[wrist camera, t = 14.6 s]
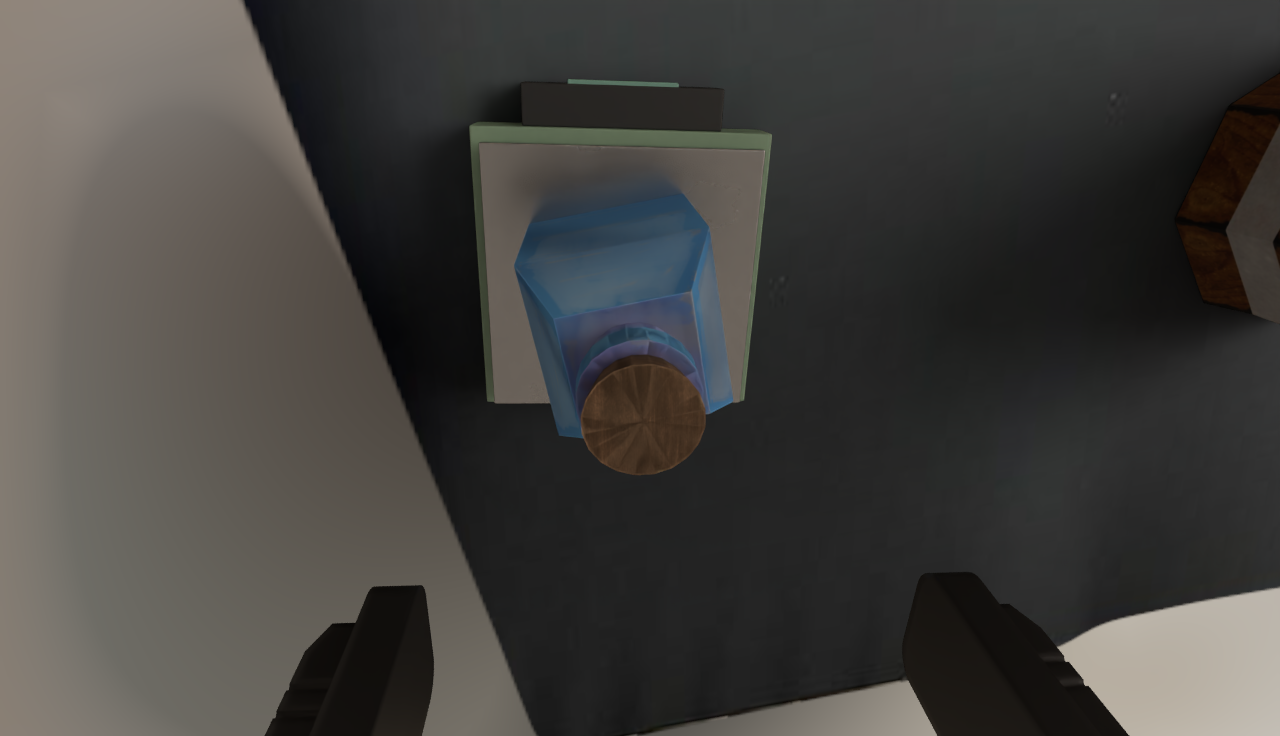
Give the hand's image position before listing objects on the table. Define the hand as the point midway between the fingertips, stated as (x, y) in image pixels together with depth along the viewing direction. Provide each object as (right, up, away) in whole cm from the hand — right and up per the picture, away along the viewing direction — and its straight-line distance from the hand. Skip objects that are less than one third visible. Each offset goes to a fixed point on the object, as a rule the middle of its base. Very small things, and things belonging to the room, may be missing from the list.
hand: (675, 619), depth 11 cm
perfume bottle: (-1, +8, +17) cm, 19 cm away
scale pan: (-1, +8, +18) cm, 20 cm away
